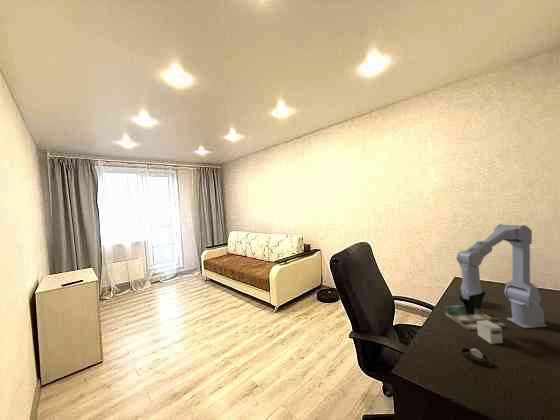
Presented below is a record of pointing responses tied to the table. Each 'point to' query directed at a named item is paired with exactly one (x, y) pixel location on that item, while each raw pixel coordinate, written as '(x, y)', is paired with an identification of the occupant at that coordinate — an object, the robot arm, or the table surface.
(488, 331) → the beige rectangular block
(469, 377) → the table surface
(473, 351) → the watch
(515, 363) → the table surface
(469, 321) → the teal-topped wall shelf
